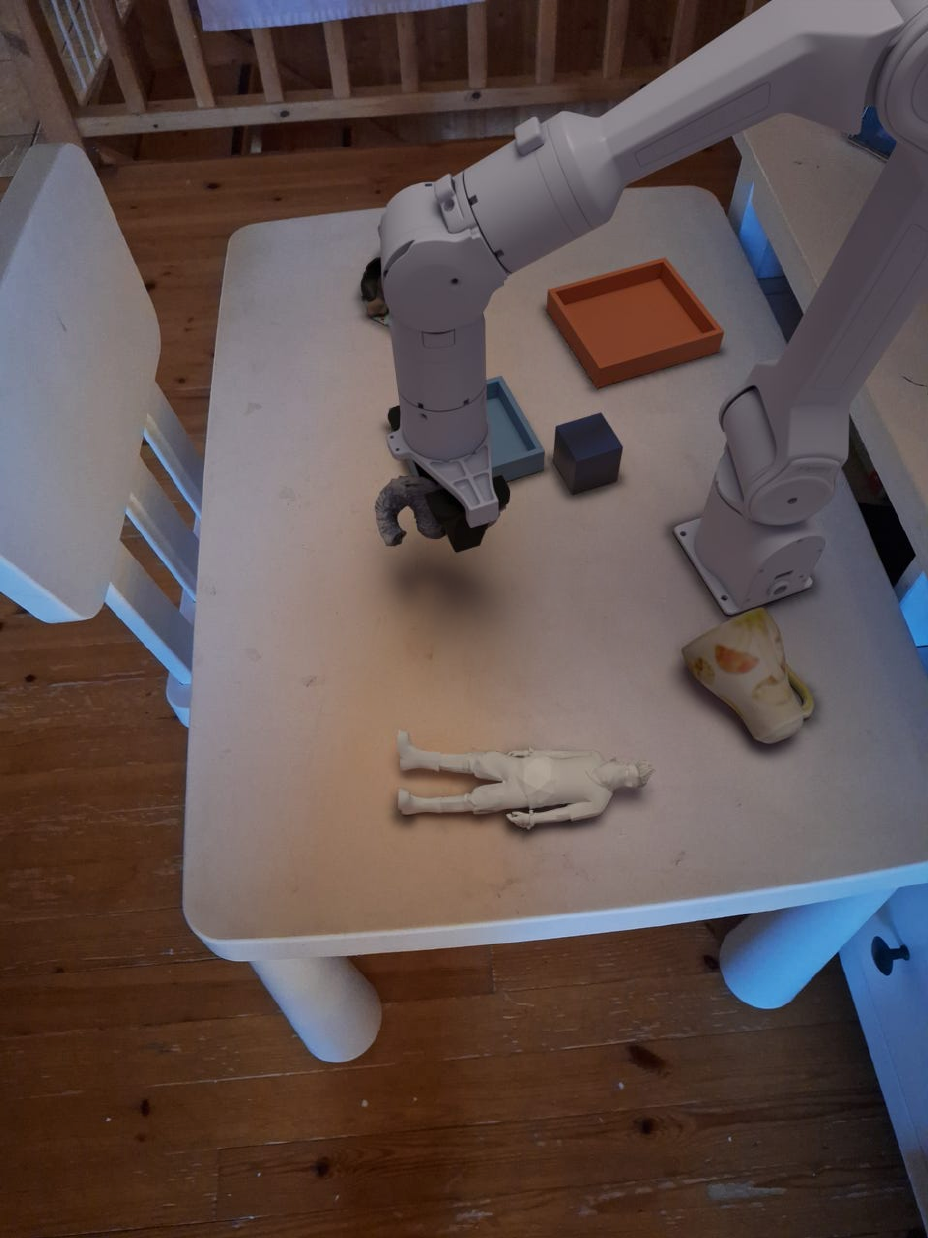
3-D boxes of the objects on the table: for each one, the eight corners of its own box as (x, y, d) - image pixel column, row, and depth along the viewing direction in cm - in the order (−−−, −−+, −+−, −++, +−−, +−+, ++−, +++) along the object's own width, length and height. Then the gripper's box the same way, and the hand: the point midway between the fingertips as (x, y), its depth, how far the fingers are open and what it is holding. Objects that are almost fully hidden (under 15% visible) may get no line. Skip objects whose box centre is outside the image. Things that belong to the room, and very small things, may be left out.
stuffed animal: (381, 342, 89) (345, 222, 88) (376, 367, 98) (343, 260, 98) (494, 312, 90) (459, 194, 90) (478, 340, 100) (446, 234, 99)
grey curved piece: (378, 547, 71) (505, 538, 71) (374, 547, 66) (511, 539, 66) (373, 478, 70) (501, 470, 71) (368, 473, 65) (506, 465, 65)
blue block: (617, 480, 80) (623, 446, 77) (572, 494, 80) (576, 461, 76) (596, 446, 83) (601, 411, 79) (552, 459, 82) (555, 425, 78)
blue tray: (543, 469, 81) (545, 450, 79) (426, 506, 80) (425, 488, 77) (501, 394, 86) (501, 374, 84) (390, 427, 85) (388, 407, 82)
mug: (751, 779, 66) (717, 684, 60) (692, 702, 74) (658, 612, 68) (843, 732, 65) (818, 632, 60) (775, 660, 73) (746, 566, 68)
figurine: (396, 727, 64) (650, 710, 63) (405, 746, 68) (645, 730, 67) (396, 826, 61) (664, 810, 60) (405, 840, 65) (658, 825, 63)
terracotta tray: (719, 351, 89) (724, 331, 87) (597, 388, 87) (599, 368, 84) (661, 277, 95) (665, 256, 93) (546, 309, 93) (547, 289, 91)
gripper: (348, 324, 60) (372, 461, 72) (420, 478, 53) (434, 603, 65) (446, 297, 61) (454, 436, 73) (530, 444, 54) (524, 572, 66)
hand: (450, 512), depth 69 cm, fingers closed on grey curved piece, 6 cm apart
